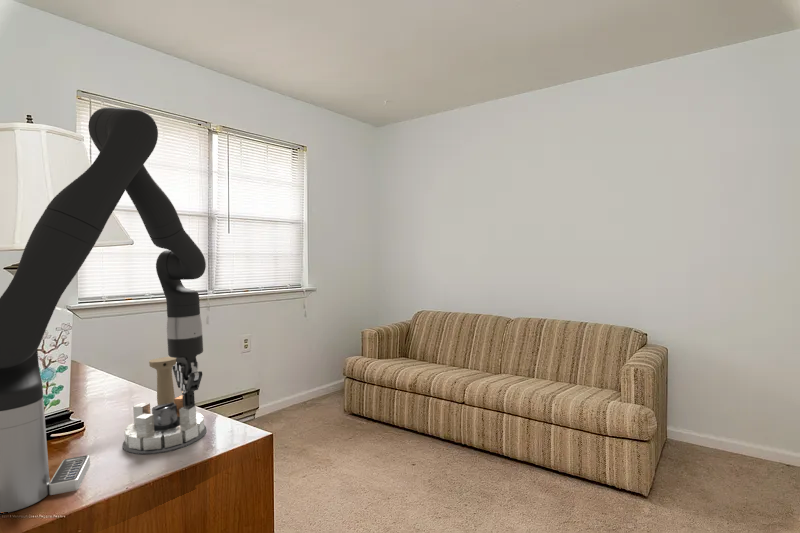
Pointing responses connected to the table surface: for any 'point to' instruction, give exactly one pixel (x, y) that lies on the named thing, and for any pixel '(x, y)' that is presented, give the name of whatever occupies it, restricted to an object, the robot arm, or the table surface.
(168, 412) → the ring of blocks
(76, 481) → the multiport hub
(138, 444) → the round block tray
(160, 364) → the handle
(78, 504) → the table surface
